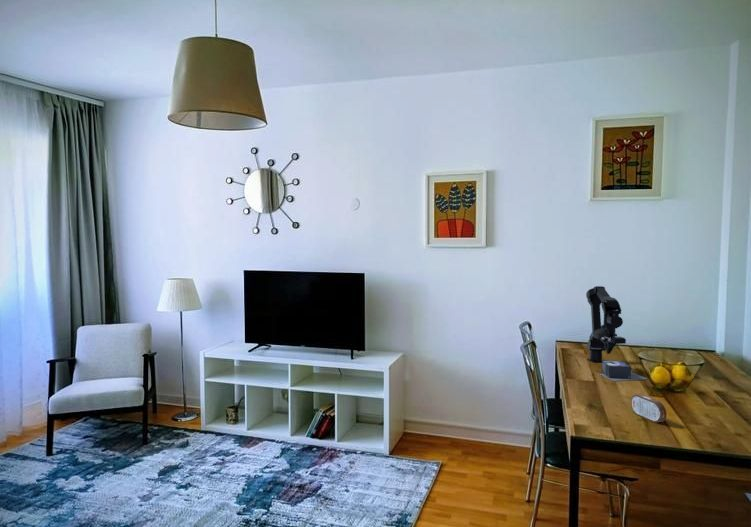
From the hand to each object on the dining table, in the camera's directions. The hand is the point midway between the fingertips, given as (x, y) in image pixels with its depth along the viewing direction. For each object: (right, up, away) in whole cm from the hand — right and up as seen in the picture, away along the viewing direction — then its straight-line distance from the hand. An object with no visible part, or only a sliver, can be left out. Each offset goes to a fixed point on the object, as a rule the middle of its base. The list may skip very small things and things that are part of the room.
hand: (608, 353), depth 262 cm
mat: (+2, -10, -11) cm, 15 cm away
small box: (0, -6, -5) cm, 7 cm away
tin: (-16, -13, -67) cm, 70 cm away
